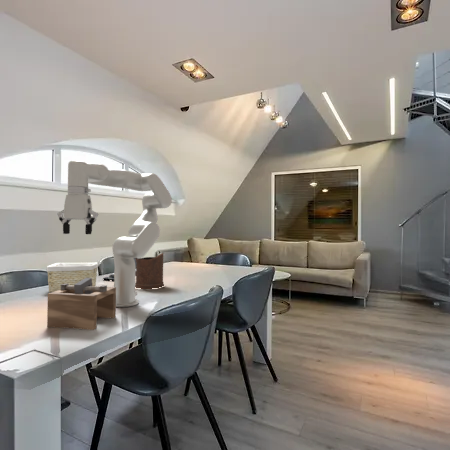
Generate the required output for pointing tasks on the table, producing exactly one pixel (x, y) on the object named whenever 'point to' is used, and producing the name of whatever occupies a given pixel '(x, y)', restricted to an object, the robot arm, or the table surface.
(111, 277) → the camera
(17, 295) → the table surface
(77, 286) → the grey piece
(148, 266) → the brown woven bin
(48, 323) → the stand
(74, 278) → the storage basket
